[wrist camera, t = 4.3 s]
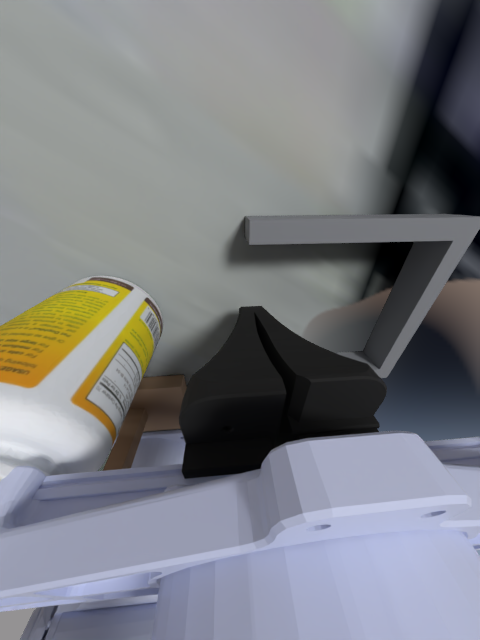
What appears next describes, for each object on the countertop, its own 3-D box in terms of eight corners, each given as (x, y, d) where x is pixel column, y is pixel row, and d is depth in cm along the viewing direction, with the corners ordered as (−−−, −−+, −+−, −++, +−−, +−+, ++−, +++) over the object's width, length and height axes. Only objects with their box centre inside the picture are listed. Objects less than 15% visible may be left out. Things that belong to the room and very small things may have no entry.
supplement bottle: (52, 308, 12) (-429, 618, 3) (108, 251, 10) (-526, 547, 2) (130, 358, 14) (-8, 599, 6) (183, 319, 13) (104, 567, 4)
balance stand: (193, 415, 19) (184, 487, 14) (110, 421, 18) (72, 498, 14) (183, 374, 16) (166, 450, 11) (82, 381, 15) (19, 463, 10)
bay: (245, 216, 10) (249, 219, 8) (444, 214, 10) (486, 217, 9) (243, 366, 16) (246, 387, 14) (369, 359, 16) (386, 377, 15)
